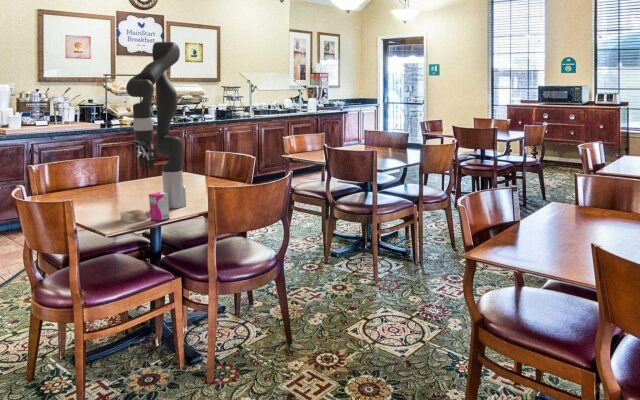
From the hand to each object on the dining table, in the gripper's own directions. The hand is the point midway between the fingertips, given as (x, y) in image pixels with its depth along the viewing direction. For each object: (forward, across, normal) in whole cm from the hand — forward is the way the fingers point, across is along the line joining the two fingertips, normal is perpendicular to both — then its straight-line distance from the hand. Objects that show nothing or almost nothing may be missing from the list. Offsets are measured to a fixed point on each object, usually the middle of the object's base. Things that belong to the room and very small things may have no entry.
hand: (146, 167), depth 227 cm
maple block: (+23, +5, +5) cm, 24 cm away
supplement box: (+23, -2, -3) cm, 23 cm away
